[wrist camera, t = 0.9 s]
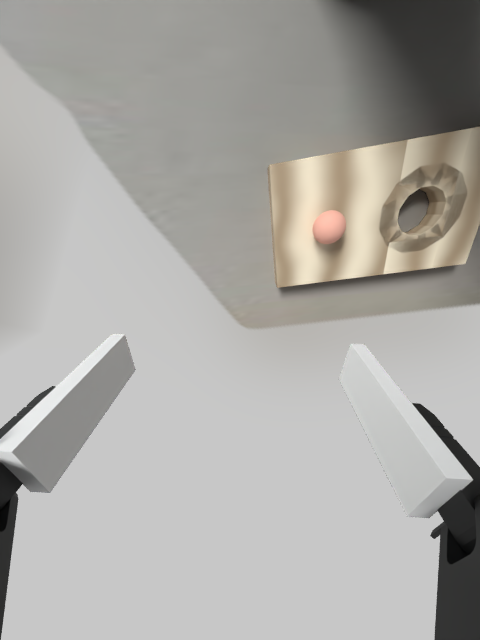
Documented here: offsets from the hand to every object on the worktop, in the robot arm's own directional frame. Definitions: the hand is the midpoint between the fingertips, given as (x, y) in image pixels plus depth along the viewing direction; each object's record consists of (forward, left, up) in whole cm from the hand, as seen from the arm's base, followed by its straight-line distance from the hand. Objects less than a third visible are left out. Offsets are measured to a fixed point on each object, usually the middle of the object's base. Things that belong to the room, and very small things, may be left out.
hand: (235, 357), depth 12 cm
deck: (-15, +8, -20) cm, 27 cm away
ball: (-11, +4, -16) cm, 20 cm away
